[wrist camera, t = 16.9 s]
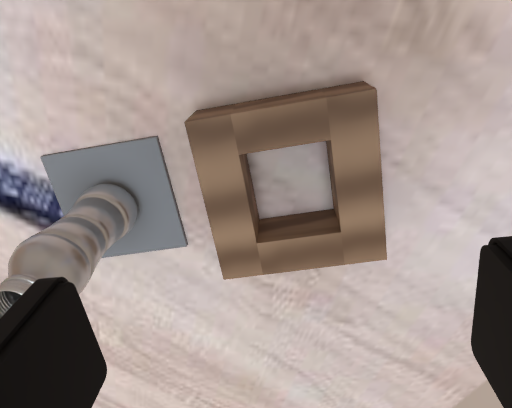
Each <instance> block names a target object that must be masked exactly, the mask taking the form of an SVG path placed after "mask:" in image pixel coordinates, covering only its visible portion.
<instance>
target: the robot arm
mask: <svg viewBox="0 0 512 408" xmlns="http://www.w3.org/2000/svg"><path fill="white" fill-rule="evenodd" d="M471 346H472V351H473V354H474V356H475V358H476V360H477V362H478V364H479V365H480V367H481V369H482V371H483V372H484V374H485V376H486V378H487V379H488V381H489V383H490V385H491V386H492V388H493V390H494V392H495V393H496V395H497V397H498V399H499V400H500V402H501V404H502V406H503V407H504V408H512V236H509V237H498V238H492V239H491V240H490V241H489V244H488V245H484V246H482V248H481V251H480V260H479V269H478V279H477V288H476V298H475V307H474V317H473V326H472V336H471ZM106 374H107V366H106V362H105V360H104V357H103V355H102V352H101V350H100V347H99V345H98V342H97V340H96V337H95V335H94V332H93V330H92V327H91V325H90V322H89V319H88V317H87V314H86V312H85V309H84V307H83V304H82V302H81V299H80V297H79V294H78V292H77V289H76V287H75V285H74V284H73V283H72V282H68V280H67V279H66V278H65V277H53V278H42V279H37V280H36V281H35V282H34V283H33V284H32V285H31V286H30V287H29V288H28V289H27V290H26V291H25V292H24V293H23V295H22V296H21V297H20V298H19V299H18V300H17V301H16V302H15V303H14V304H13V305H12V306H11V307H10V309H9V310H8V311H7V312H6V313H5V314H4V315H3V316H2V317H1V318H0V408H92V406H93V404H94V401H95V399H96V397H97V395H98V393H99V391H100V389H101V387H102V385H103V383H104V381H105V378H106Z"/></svg>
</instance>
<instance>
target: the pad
mask: <svg viewBox="0 0 512 408" xmlns="http://www.w3.org/2000/svg"><path fill="white" fill-rule="evenodd" d="M41 160H42V162H43V165H44V167H45V170H46V172H47V175H48V177H49V180H50V182H51V185H52V187H53V190H54V192H55V195H56V197H57V200H58V202H59V205H60V207H61V210H62V212H63V215H64V216H65V215H66V214H67V213H68V211H69V210H70V209H71V208H72V207H73V206H74V204H75V202H76V201H77V199H78V198H79V197H80V195H81V194H82V193H83V192H84V191H85V190H87V189H89V188H91V187H93V186H96V185H99V184H113V185H117V186H119V187H121V188H123V189H124V190H126V191H127V192H128V193H129V194H130V195H131V196H132V197H133V199H134V200H135V202H136V205H137V211H138V213H137V218H136V221H135V223H134V226H133V228H132V229H131V230H130V231H129V232H128V233H127V234H126V235H124V236H123V237H122V238H120V239H119V240H117V241H116V242H115V243H114V244H113V245H112V246H111V247H110V248H109V249H107V250H106V252H105V253H104V255H103V256H102V258H104V257H112V256H119V255H127V254H134V253H141V252H149V251H156V250H164V249H171V248H178V247H186V246H187V245H188V243H187V239H186V236H185V232H184V229H183V225H182V222H181V218H180V214H179V211H178V207H177V204H176V200H175V196H174V193H173V189H172V186H171V182H170V179H169V175H168V171H167V168H166V164H165V161H164V157H163V153H162V150H161V146H160V143H159V139H158V136H154V137H148V138H143V139H137V140H131V141H125V142H119V143H113V144H107V145H101V146H96V147H90V148H84V149H78V150H72V151H66V152H60V153H55V154H49V155H43V156H41Z"/></svg>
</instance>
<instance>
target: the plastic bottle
mask: <svg viewBox="0 0 512 408" xmlns="http://www.w3.org/2000/svg"><path fill="white" fill-rule="evenodd" d="M137 213H138V211H137V205H136V202H135V200H134V199H133V197H132V196H131V195H130V194H129V193H128V192H127V191H126V190H124V189H123V188H121V187H119V186H117V185H113V184H99V185H96V186H93V187H91V188H89V189H87V190H85V191H84V192H83V193H82V194H81V195H80V197H79V198H78V199H77V201H76V202H75V204H74V206H73V207H72V208H71V209H70V210H69V211H68V213H67V214H66V215H65V216H64V217H62V218H61V219H60V220H59V221H57V222H55V223H54V224H53V225H51V226H50V227H48V228H46V229H44V230H43V231H41V232H39V233H37V234H35V235H33V236H31V237H30V238H28V239H26V240H25V241H23V242H22V243H20V244H19V245H18V246H17V247H16V249H15V250H14V252H13V254H12V256H11V258H10V259H9V263H8V278H6V279H5V280H4V281H3V282H2V283H1V284H0V318H1V317H2V316H3V315H4V314H5V313H6V312H7V311H8V310H9V309H10V307H11V306H12V305H13V304H14V303H15V302H16V301H17V300H18V299H19V298H20V297H21V296H22V295H23V293H24V292H25V291H26V290H27V289H28V288H29V287H30V286H31V285H32V284H33V283H34V282H35V281H36V280H37V279H42V278H53V277H65V278H66V279H67V280H68V282H72V283H73V284H74V285H75V287H76V289H77V292H78V294H80V293H81V292H82V291H83V289H84V288H85V287H86V285H87V283H88V282H89V280H90V278H91V276H92V274H93V272H94V270H95V268H96V266H97V264H98V262H99V261H100V259H101V258H102V256H103V255H104V253H105V252H106V250H107V249H109V248H110V247H111V246H112V245H113V244H114V243H115V242H116V241H117V240H119V239H120V238H122V237H123V236H124V235H126V234H127V233H128V232H129V231H130V230H131V229H132V228H133V226H134V223H135V221H136V218H137Z"/></svg>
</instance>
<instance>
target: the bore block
mask: <svg viewBox="0 0 512 408" xmlns="http://www.w3.org/2000/svg"><path fill="white" fill-rule="evenodd" d="M185 126H186V130H187V134H188V138H189V142H190V146H191V150H192V154H193V158H194V162H195V166H196V170H197V174H198V178H199V183H200V187H201V191H202V195H203V199H204V203H205V207H206V211H207V215H208V219H209V223H210V227H211V231H212V235H213V239H214V243H215V247H216V251H217V255H218V259H219V263H220V267H221V271H222V275H223V279H224V280H225V279H233V278H241V277H249V276H257V275H265V274H273V273H282V272H290V271H298V270H306V269H314V268H322V267H330V266H338V265H346V264H354V263H362V262H370V261H379V260H387V252H386V235H385V219H384V203H383V187H382V171H381V154H380V138H379V122H378V106H377V90H376V88H374V87H372V86H371V85H369V84H367V83H366V82H364V81H362V82H356V83H351V84H345V85H339V86H334V87H328V88H322V89H317V90H311V91H305V92H300V93H294V94H288V95H283V96H277V97H271V98H265V99H260V100H254V101H248V102H243V103H237V104H231V105H226V106H220V107H214V108H209V109H203V110H197V111H195V112H194V113H193V114H192V115H191V116H190V117H189V118H188V119H187V120H186V121H185ZM321 141H326V144H327V153H328V161H329V170H330V179H331V187H332V196H333V205H334V209H330V210H323V211H316V212H309V213H301V214H294V215H287V216H280V217H273V218H266V219H259V216H258V210H257V205H256V200H255V195H254V190H253V185H252V180H251V175H250V170H249V164H248V159H247V153H253V152H259V151H265V150H272V149H278V148H284V147H290V146H296V145H303V144H309V143H315V142H321Z"/></svg>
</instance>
